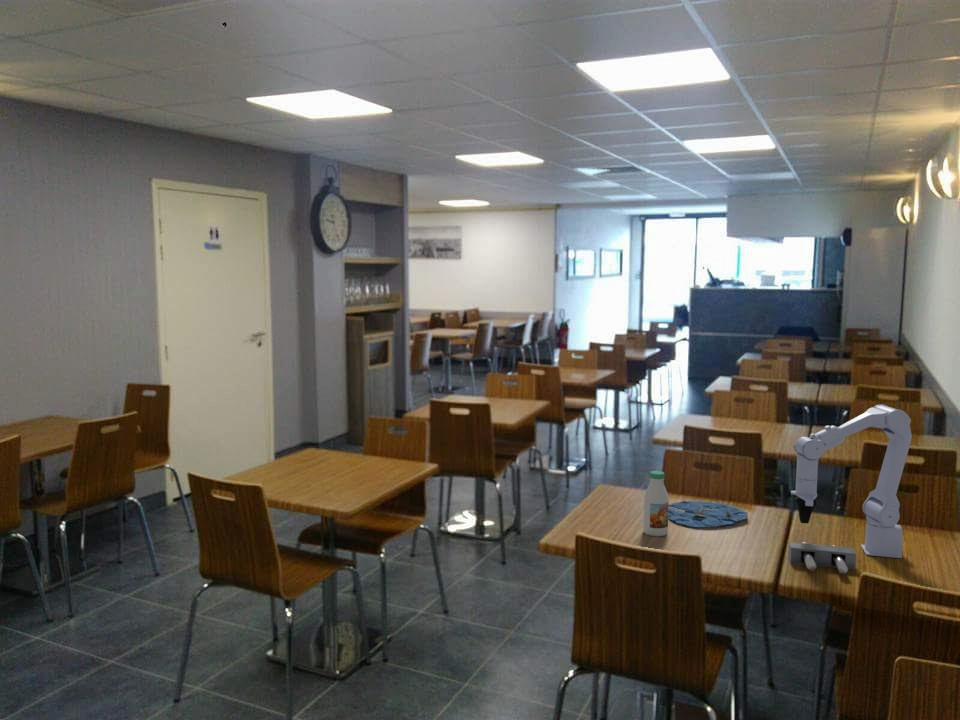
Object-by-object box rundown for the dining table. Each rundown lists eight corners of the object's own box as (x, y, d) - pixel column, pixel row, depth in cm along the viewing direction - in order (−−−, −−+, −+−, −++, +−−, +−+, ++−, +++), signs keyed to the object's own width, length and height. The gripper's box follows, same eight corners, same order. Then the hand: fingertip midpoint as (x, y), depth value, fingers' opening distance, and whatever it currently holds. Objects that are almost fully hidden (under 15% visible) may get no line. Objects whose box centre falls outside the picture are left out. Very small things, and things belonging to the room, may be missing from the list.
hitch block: (851, 563, 214) (852, 547, 213) (855, 569, 209) (856, 553, 209) (788, 557, 219) (788, 541, 218) (790, 563, 214) (791, 547, 213)
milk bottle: (640, 534, 237) (641, 473, 235) (646, 527, 244) (648, 468, 242) (664, 538, 234) (666, 476, 231) (670, 531, 240) (672, 470, 238)
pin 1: (796, 555, 219) (796, 541, 219) (812, 557, 218) (813, 542, 217) (802, 573, 206) (803, 557, 206) (819, 574, 205) (820, 559, 205)
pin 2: (825, 558, 217) (826, 544, 216) (841, 560, 216) (842, 545, 215) (834, 576, 204) (834, 560, 204) (851, 578, 203) (852, 562, 203)
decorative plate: (648, 526, 250) (647, 511, 250) (671, 501, 276) (671, 487, 276) (739, 537, 236) (739, 521, 235) (755, 510, 262) (755, 496, 261)
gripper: (788, 470, 227) (786, 513, 229) (795, 483, 213) (793, 529, 215) (813, 472, 225) (811, 515, 227) (822, 485, 211) (819, 531, 213)
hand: (804, 522), depth 221 cm, fingers closed
